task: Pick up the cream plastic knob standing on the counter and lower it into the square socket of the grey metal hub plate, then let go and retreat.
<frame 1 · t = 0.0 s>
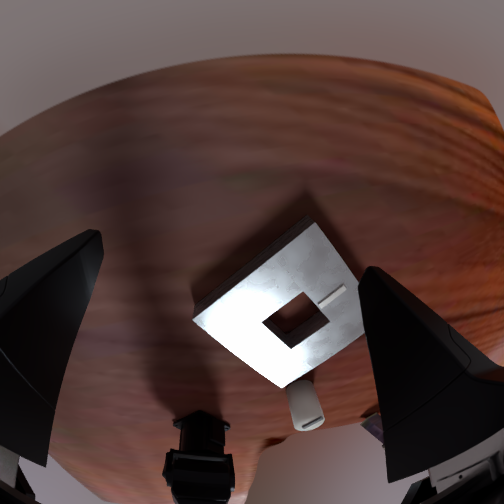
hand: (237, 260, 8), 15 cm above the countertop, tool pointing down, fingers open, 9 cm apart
toy gun: (400, 411, 41), on the countertop
hub plate: (291, 308, 28), on the countertop
knob: (299, 388, 33), on the countertop
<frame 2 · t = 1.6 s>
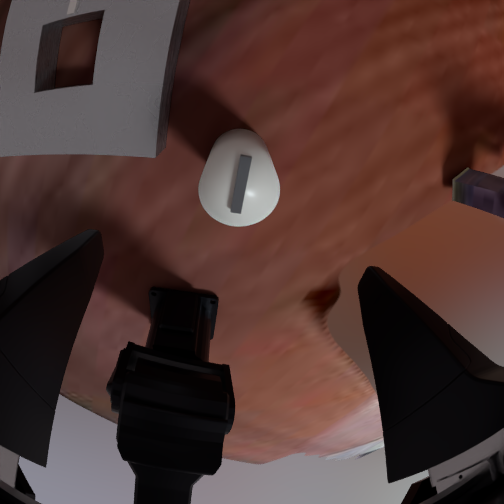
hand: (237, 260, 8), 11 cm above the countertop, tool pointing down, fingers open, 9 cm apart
hub plate: (84, 52, 12), on the countertop
knob: (239, 155, 17), on the countertop
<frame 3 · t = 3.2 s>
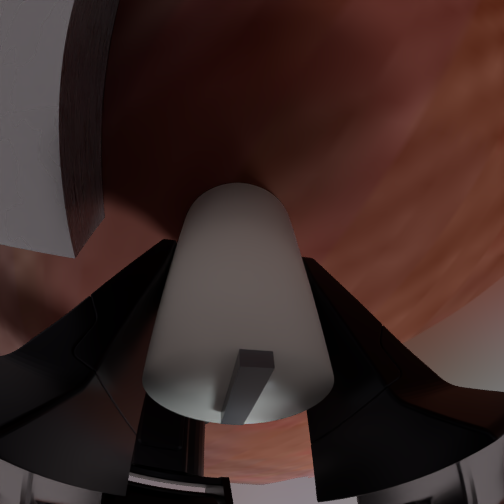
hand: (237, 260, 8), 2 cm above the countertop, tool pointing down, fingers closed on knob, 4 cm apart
knob: (237, 232, 10), on the countertop, touching gripper
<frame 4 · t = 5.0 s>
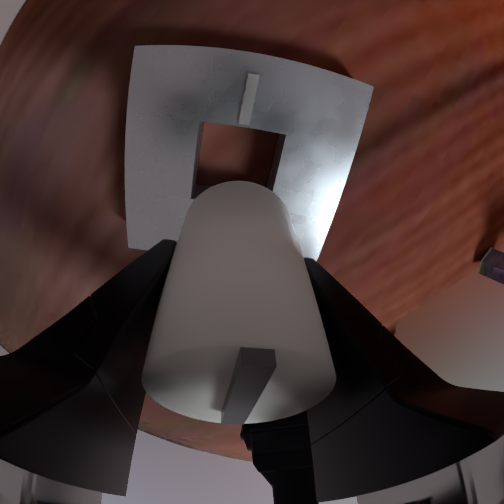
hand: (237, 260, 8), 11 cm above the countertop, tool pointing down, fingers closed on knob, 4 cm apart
hub plate: (236, 155, 18), on the countertop
knob: (237, 231, 10), point 10 cm above the countertop, touching gripper
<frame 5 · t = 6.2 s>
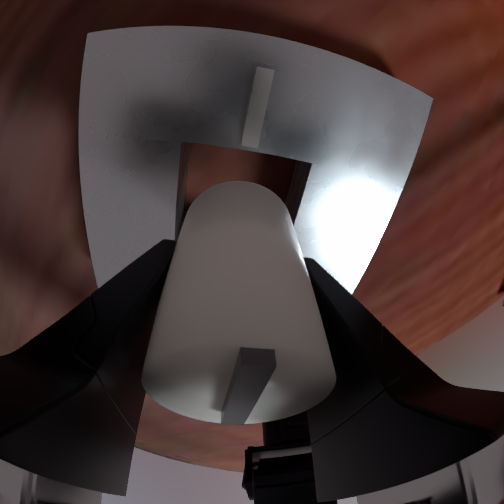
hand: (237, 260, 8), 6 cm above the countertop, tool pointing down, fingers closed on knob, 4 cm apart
hub plate: (237, 185, 13), on the countertop
knob: (237, 231, 10), point 4 cm above the countertop, touching gripper
when the fingers open (3 cm above the countertop, at t = 7.1 s): knob drops 2 cm, resting in hub plate.
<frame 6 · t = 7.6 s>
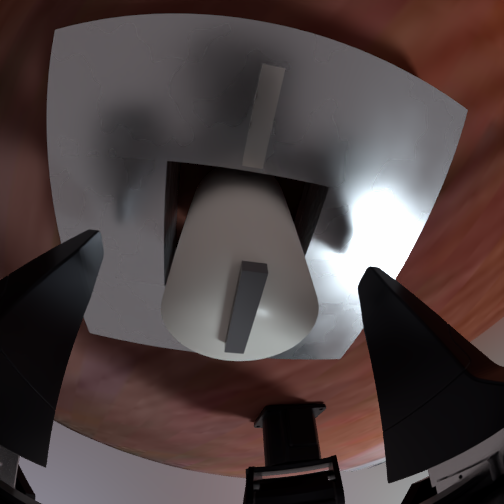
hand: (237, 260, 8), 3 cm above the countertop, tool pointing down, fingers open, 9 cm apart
hub plate: (237, 207, 11), on the countertop
knob: (238, 206, 11), resting in hub plate
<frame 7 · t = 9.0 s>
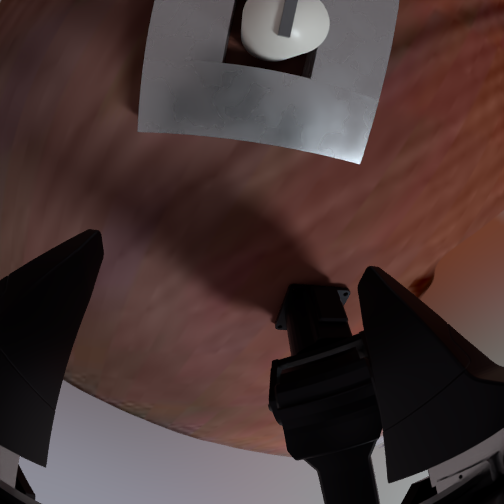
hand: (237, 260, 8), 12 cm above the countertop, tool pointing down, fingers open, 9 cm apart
hub plate: (270, 36, 13), on the countertop
knob: (271, 36, 13), resting in hub plate
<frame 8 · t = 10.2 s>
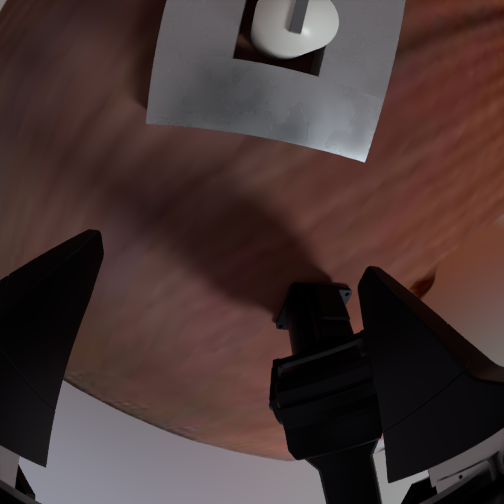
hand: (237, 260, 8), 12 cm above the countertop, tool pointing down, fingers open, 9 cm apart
hub plate: (279, 35, 13), on the countertop
knob: (280, 35, 13), resting in hub plate
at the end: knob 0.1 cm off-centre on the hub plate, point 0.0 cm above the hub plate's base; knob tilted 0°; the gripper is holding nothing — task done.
